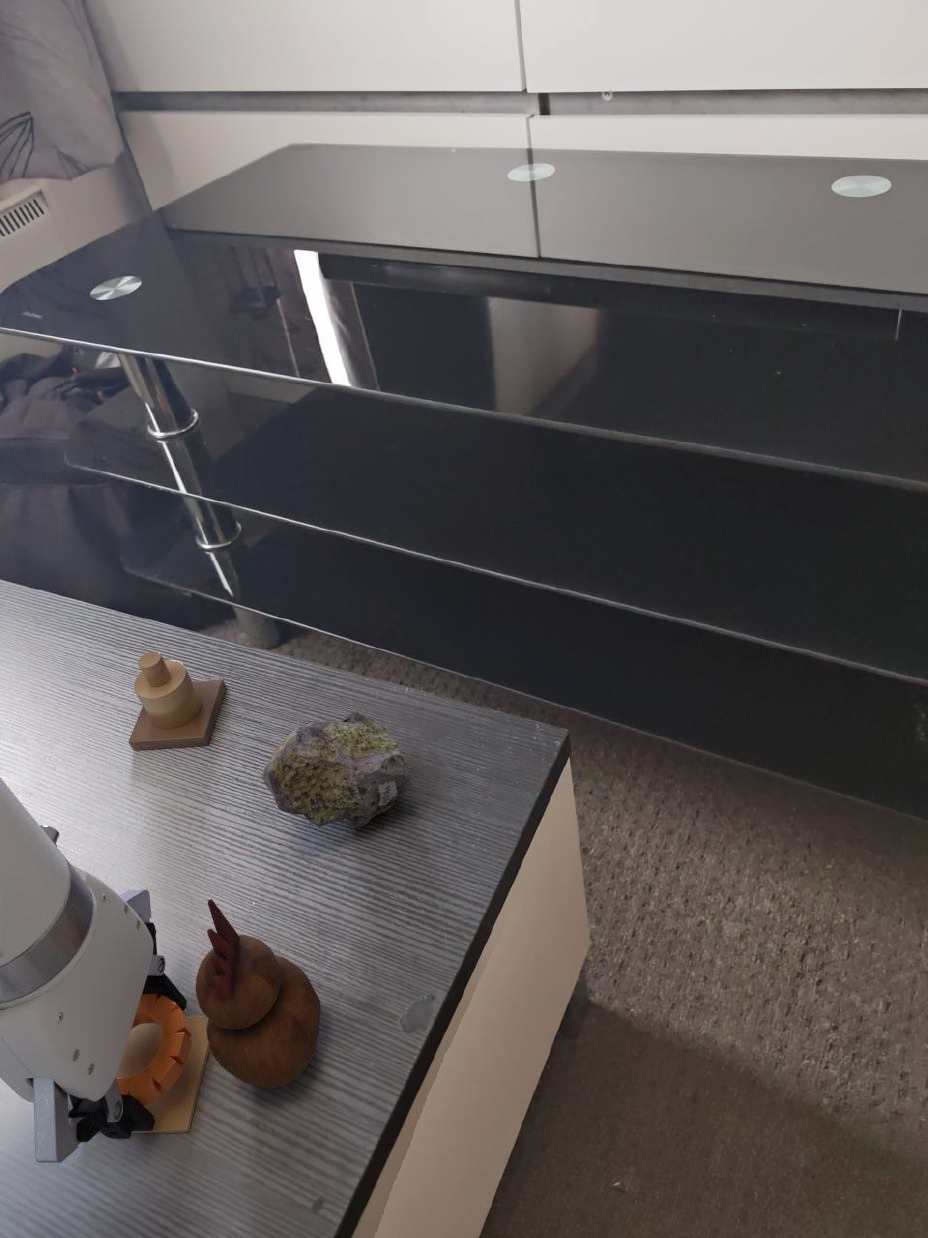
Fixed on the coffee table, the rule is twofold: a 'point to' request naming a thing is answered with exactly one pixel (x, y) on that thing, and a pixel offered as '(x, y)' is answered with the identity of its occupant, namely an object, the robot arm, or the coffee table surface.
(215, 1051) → the wooden figurine
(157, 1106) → the coaster
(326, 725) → the rock
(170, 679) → the post
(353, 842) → the coffee table surface
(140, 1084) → the ring
